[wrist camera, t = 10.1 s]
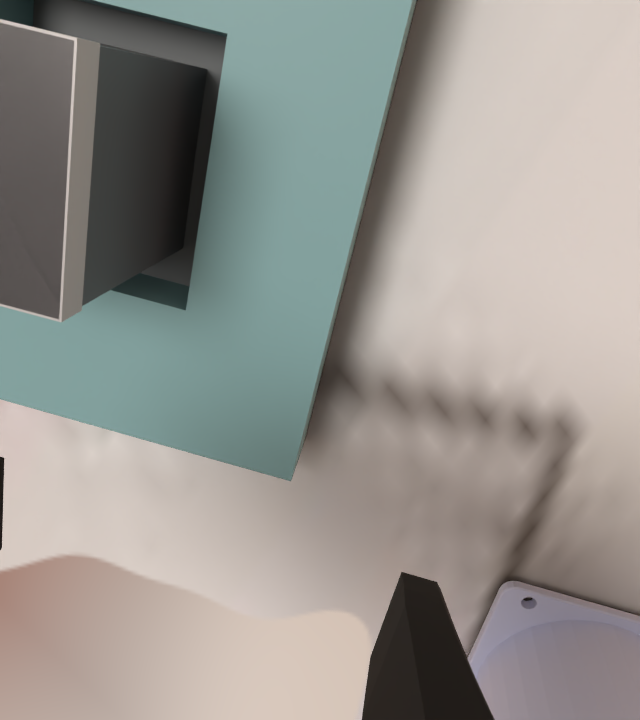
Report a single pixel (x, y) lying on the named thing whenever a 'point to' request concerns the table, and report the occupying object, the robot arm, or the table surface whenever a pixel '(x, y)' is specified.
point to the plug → (89, 166)
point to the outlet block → (228, 228)
